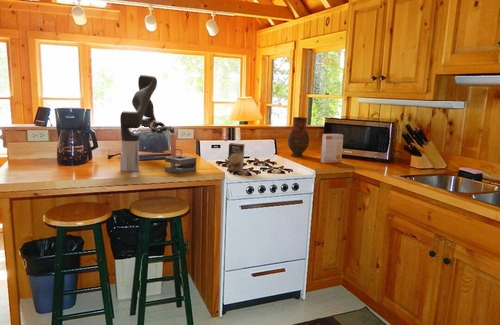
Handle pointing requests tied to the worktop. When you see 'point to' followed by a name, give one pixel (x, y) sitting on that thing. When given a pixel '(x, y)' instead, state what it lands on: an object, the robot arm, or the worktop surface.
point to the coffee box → (236, 157)
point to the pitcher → (298, 137)
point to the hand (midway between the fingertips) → (166, 131)
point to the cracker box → (331, 148)
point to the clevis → (181, 164)
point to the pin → (173, 146)
